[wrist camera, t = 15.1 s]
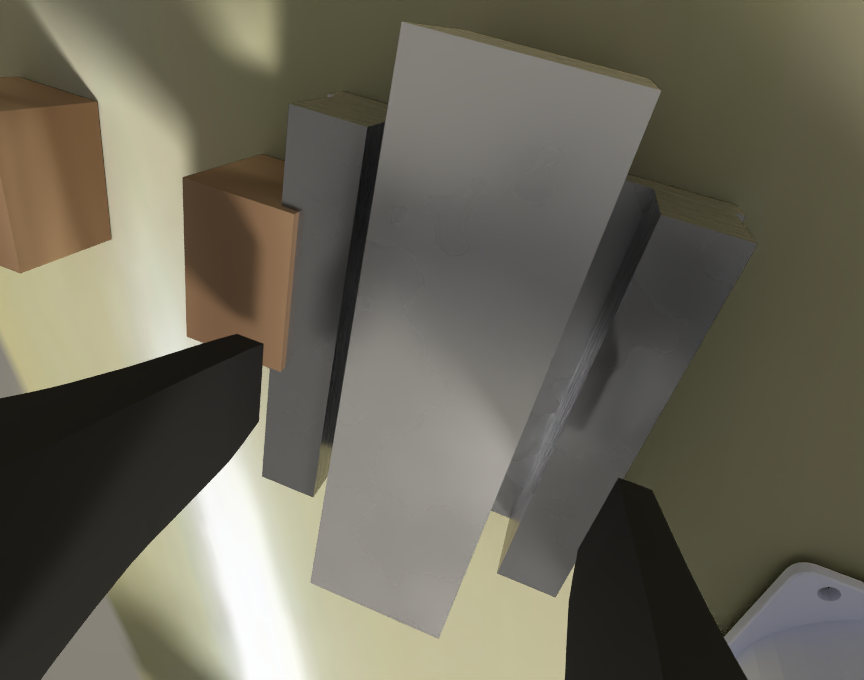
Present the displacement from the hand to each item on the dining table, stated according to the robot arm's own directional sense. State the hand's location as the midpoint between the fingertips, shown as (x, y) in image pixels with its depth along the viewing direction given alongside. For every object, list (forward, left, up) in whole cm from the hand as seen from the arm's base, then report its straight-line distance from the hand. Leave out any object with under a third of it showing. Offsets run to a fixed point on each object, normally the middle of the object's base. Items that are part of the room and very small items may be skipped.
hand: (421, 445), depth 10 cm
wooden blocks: (+9, -1, -5) cm, 10 cm away
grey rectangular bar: (0, 0, -4) cm, 4 cm away
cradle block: (0, 0, -5) cm, 5 cm away
